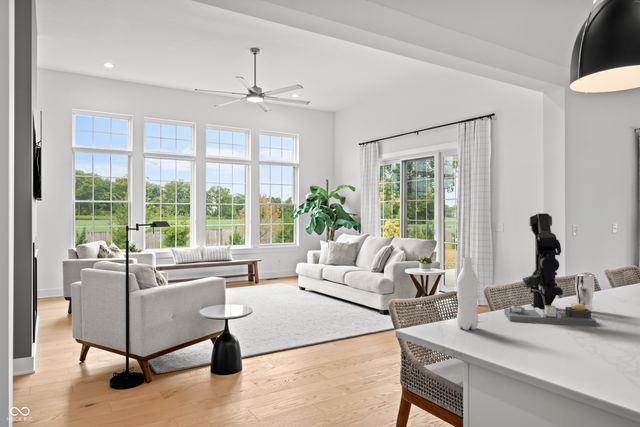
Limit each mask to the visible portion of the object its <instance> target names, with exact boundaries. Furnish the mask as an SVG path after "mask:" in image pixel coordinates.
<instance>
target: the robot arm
mask: <svg viewBox="0 0 640 427" xmlns="http://www.w3.org/2000/svg"><path fill="white" fill-rule="evenodd" d="M552 226H553V217H552V216H551V215H550V214H549V213H542V212H541V213H536V214H534V215H532V216H531V215H530V217H529V227H530V231H531V232H532V234H533V235H534V241H535V242H534V243H535V244H534V245H535V246H534V248H535V250H534V251H535V258H534V259H535V262H534V264H535V265H534V266H535V269H534V271H533V272H532V274H531V275H529V276H526V277H523V278H522V282H523V284H524V287H525V288H527V289H529V293H530V294H532V298H533V299H532V303H530V306H532V307H533V308H535V307H536V308H539V309H545V305H549V306H552V304H553V302H554V300H555V299H556V297H557V296H563V295H564V294H563V293H564V292H563V291H564V289H562V288H561V287H560V286H558V283H557V282H556V276H558V272H557V271H558V270H559V268H560V262H559V261H558V259H557V258H556V256H561V254H562V246H561V242H560V240H559V239H557V236H556V234H555V233H553V232H552V230H551V227H552Z"/></svg>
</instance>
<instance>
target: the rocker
mask: <svg viewBox="0 0 640 427" xmlns="http://www.w3.org/2000/svg"><path fill="white" fill-rule="evenodd" d="M510 307H512V309H522V307H523V306H519V305H511V306H510Z"/></svg>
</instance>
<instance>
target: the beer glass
mask: <svg viewBox="0 0 640 427" xmlns="http://www.w3.org/2000/svg"><path fill="white" fill-rule="evenodd" d="M595 287H596V286H595V276H594V275H593V274H587V273H577V274H575V281H574V289H575V294H576V300H577V302H576V304H583V305H585V308H587V309H588V310H590V311H591V313H593V312H594V307H593V299H594V294H595Z"/></svg>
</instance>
